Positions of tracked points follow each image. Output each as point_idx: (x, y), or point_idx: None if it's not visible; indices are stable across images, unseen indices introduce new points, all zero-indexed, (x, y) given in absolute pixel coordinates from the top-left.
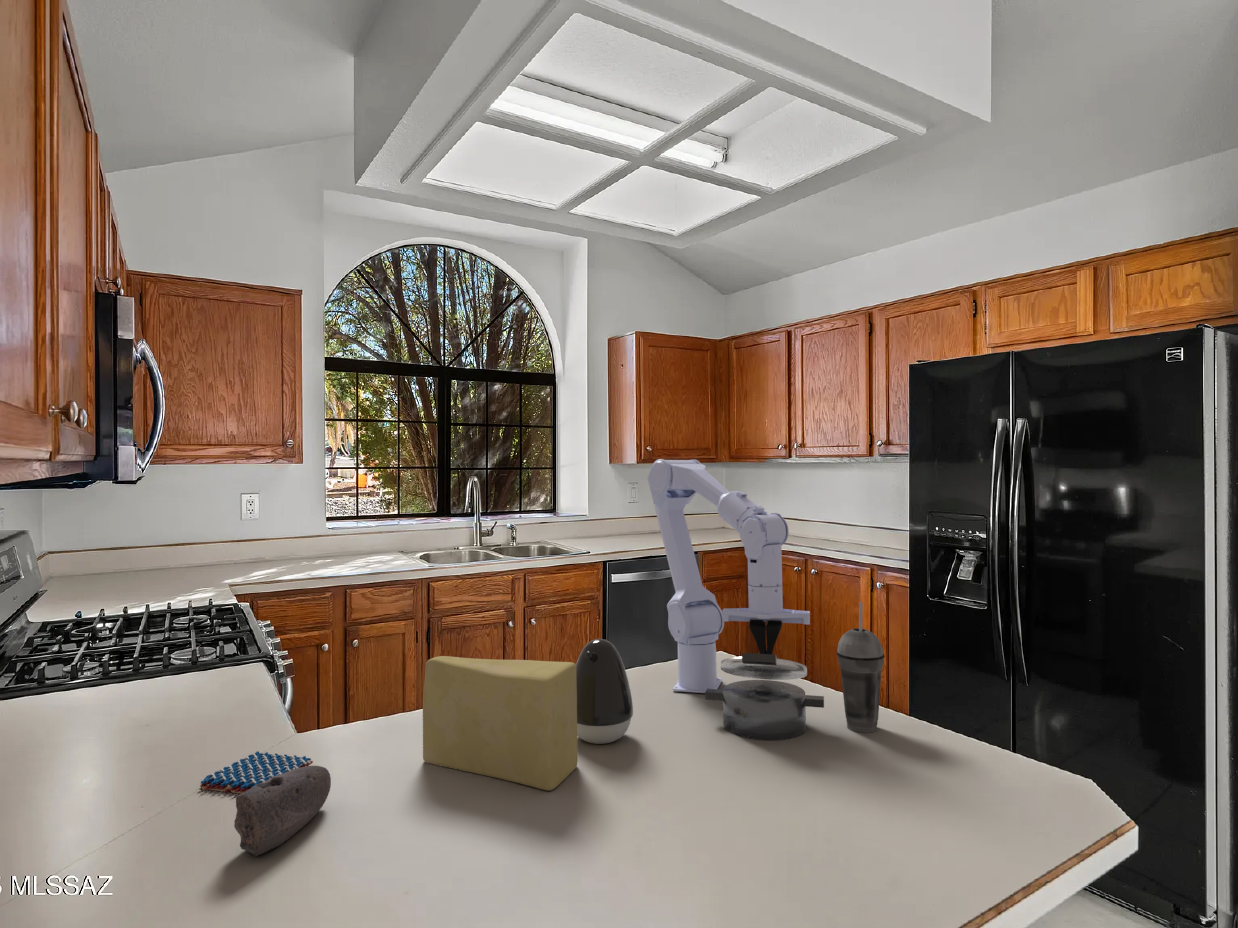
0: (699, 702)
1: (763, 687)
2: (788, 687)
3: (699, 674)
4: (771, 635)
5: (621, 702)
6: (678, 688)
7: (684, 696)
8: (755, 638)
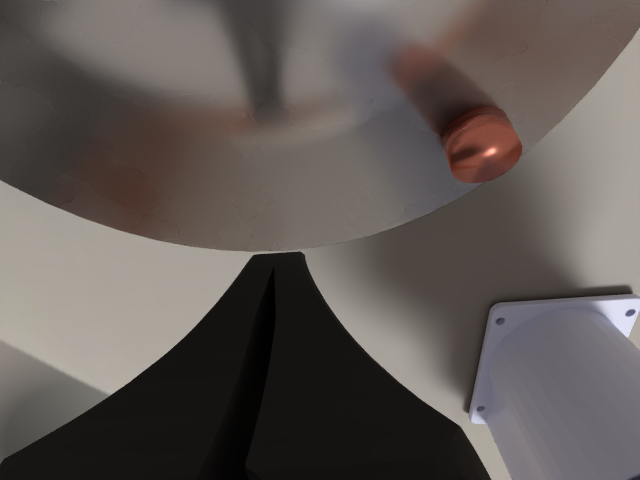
0: (549, 213)
1: None
2: None
3: (579, 351)
4: (162, 409)
5: None
6: (622, 306)
7: (599, 260)
8: (370, 365)
